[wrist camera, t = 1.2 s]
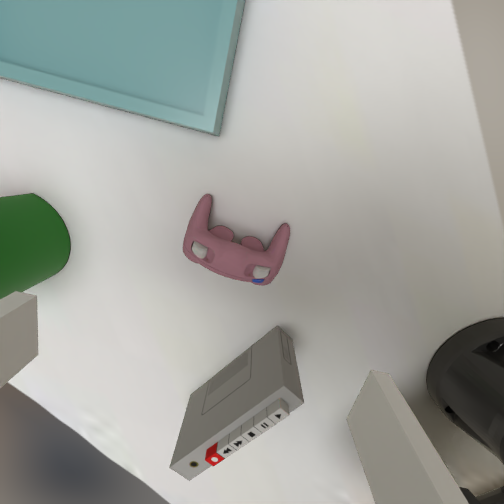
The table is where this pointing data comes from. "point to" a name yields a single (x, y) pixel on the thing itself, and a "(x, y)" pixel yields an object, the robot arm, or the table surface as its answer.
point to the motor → (30, 242)
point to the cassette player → (238, 404)
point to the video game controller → (233, 249)
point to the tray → (127, 54)
